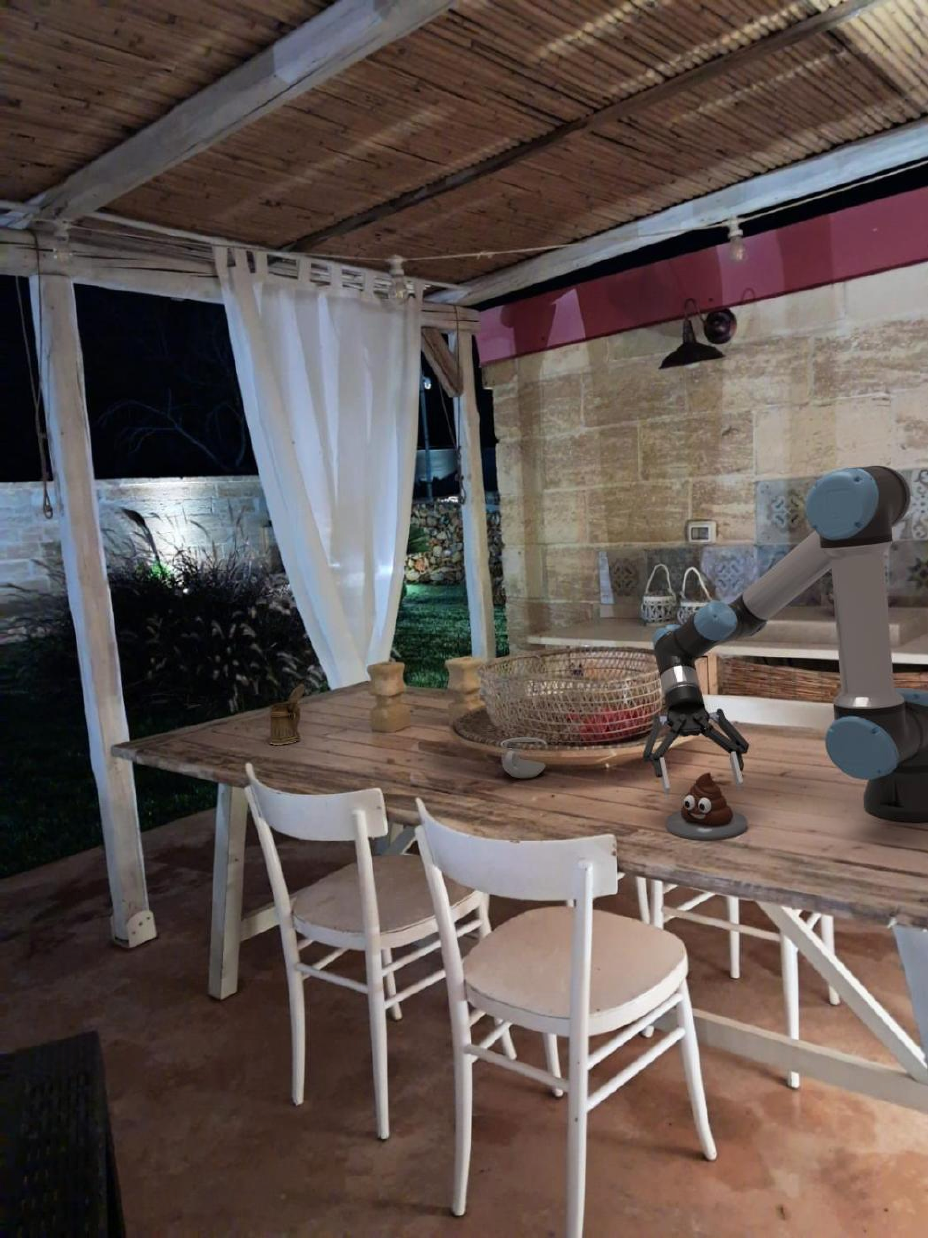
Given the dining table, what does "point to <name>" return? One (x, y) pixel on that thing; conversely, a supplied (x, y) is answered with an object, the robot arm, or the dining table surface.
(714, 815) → the poop emoji
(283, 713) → the wooden mug
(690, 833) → the charcoal plate
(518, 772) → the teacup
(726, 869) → the dining table surface
